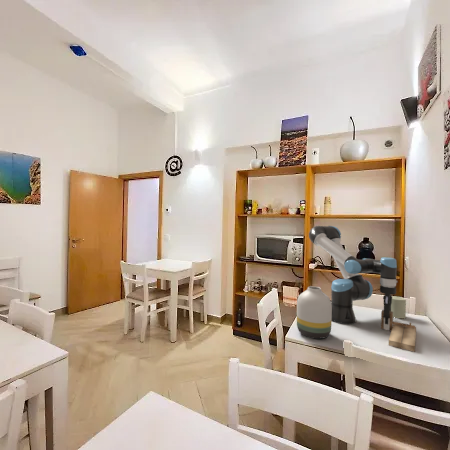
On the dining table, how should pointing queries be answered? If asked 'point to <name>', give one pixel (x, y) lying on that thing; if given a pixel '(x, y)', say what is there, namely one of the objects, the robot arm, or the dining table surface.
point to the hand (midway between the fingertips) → (387, 328)
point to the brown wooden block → (393, 321)
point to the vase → (314, 313)
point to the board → (403, 337)
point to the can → (398, 307)
